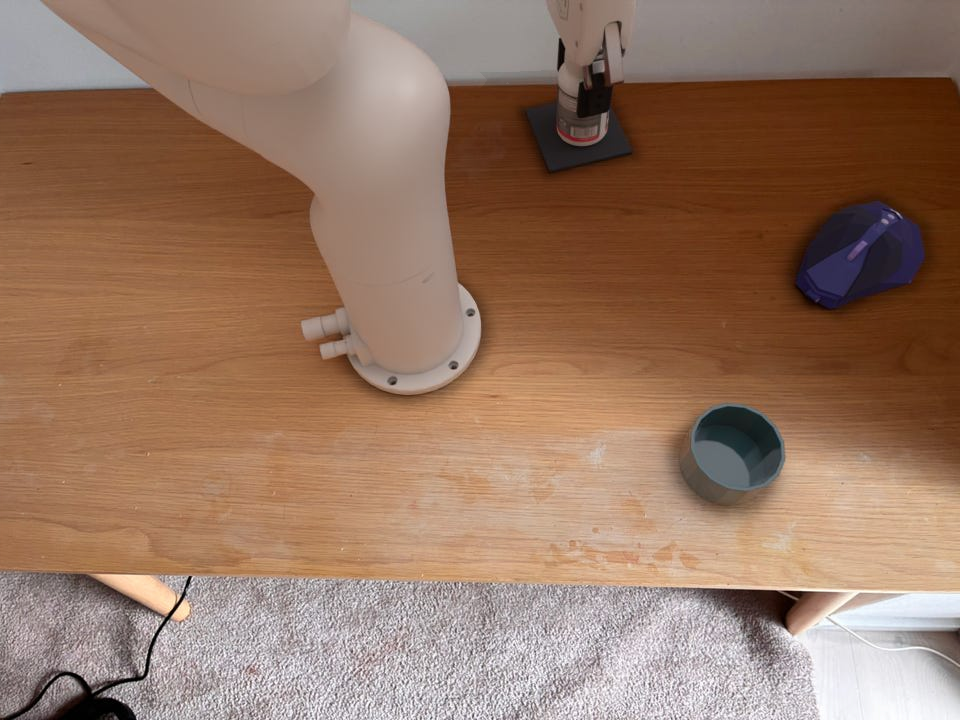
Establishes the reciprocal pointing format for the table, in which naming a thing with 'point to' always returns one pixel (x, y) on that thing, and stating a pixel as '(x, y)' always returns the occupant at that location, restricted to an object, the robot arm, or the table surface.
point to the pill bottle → (567, 96)
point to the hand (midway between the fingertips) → (582, 90)
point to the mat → (570, 156)
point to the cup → (731, 454)
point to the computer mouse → (860, 255)
